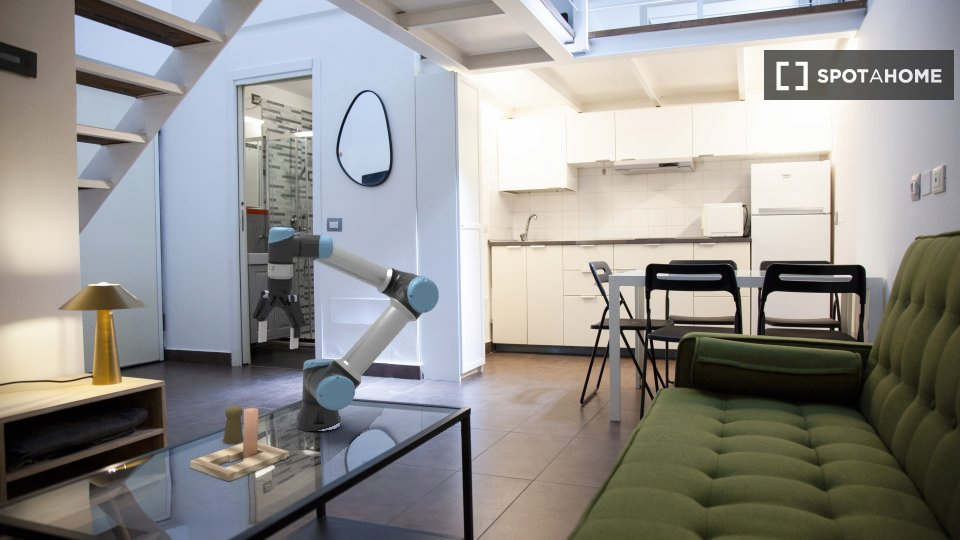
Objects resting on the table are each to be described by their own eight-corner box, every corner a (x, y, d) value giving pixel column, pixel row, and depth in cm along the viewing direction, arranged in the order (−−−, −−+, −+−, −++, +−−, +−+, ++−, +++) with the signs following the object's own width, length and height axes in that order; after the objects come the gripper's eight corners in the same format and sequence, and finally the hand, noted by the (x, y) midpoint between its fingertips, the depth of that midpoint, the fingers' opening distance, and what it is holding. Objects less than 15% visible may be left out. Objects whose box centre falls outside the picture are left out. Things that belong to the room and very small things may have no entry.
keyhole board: (250, 446, 212) (251, 440, 212) (288, 458, 204) (288, 451, 204) (190, 467, 193) (190, 460, 193) (228, 481, 185) (229, 474, 185)
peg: (250, 455, 205) (251, 407, 203) (260, 458, 203) (261, 409, 201) (239, 459, 201) (241, 410, 200) (249, 462, 199) (250, 412, 198)
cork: (241, 444, 214) (242, 409, 213) (221, 444, 213) (222, 409, 212) (244, 437, 220) (245, 404, 219) (225, 437, 219) (225, 403, 218)
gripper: (242, 274, 214) (240, 340, 215) (301, 282, 201) (298, 353, 203) (260, 272, 220) (258, 337, 222) (319, 280, 208) (316, 349, 210)
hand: (277, 345), depth 213 cm, fingers open, 13 cm apart
